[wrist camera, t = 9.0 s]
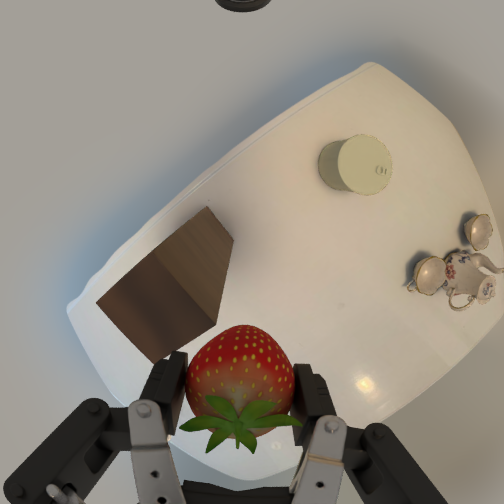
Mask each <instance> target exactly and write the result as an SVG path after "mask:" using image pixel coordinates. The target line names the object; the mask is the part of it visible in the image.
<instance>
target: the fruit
mask: <svg viewBox="0 0 504 504" xmlns="http://www.w3.org/2000/svg"><path fill="white" fill-rule="evenodd" d="M184 384H185V393H186V398H187V401H188V403H189V405H190V408H191V410H192V412H193V413H194V415H195V416H196V417H194V418H192V419H190V420H189V421H187V422H186V423H184V424H183V425H181V426H180V427H179V429H181V430H184V431H188V432H193V431H200V430H204V429H208V430H209V431H211V432H212V433H213V434H212V435H211V437H210V439H209V442H208V445H207V448H206V452H205V453H208V452H210V451H211V450H213V449H214V448H215V447H216V446H218V445H219V444H220V443H221V442H223V441H224V440H225V439H227V438H232V439H236V448H237V449H239V444H240V442H241V443H242V444H243V445H244V446H246V447H247V448H248V449H249V450H250V451H251V452H252V454H254V452H255V450H256V446H257V440H256V437H259V436H262V435H264V434H266V433H268V432H270V431H271V430H273V429H274V428H276V427H278V426H290V425H295V426H301V427H302V426H303V425H302V424H301V423H300V422H299V421H298V420H297V419H295V418H294V417H292V416H289V415H287V414H288V412H289V411H290V409H291V406H292V404H293V401H294V394H295V377H294V372H293V368H292V366H291V364H290V362H289V360H288V358H287V356H286V354H285V353H284V351H283V350H282V349H281V347H280V346H279V345H278V343H277V342H276V341H275V340H274V339H273V338H272V337H271V336H270V335H269V334H267V333H266V332H264V331H263V330H261V329H259V328H257V327H255V326H250V325H238V326H234V327H232V328H229V329H227V330H225V331H223V332H222V333H220V334H219V335H217V336H216V337H214V338H213V339H212V340H210V341H209V342H208V343H207V344H206V345H204V346H203V347H202V348H201V349H200V350H199V351H198V353H197V354H196V355H195V356H194V357H193V359H192V361H191V363H190V364H189V366H188V368H187V371H186V376H185V383H184Z"/></svg>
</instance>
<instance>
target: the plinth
mask: <svg viewBox="0 0 504 504" xmlns="http://www.w3.org/2000/svg"><path fill="white" fill-rule="evenodd" d="M233 242H234V240H233V238H232V237H231V236H230V235H229V233H228V232H227V231H226V229H225V228H224V227H223V226H222V224H221V223H220V222H219V221H218V219H217V218H216V217H215V216H214V214H213V213H212V212H211V211H210V209H209V208H208V207H207V206H206V207H205V208H204V209H203V210H201V211H200V212H199V213H198V214H196V215H195V216H194V217H192V218H191V219H190V220H189V221H187V222H186V223H185V224H184V225H183V226H181V227H180V228H179V229H178V230H176V231H175V232H174V233H173V234H172V235H170V236H169V237H168V238H167V239H166V240H164V241H163V242H162V243H161V244H160V245H158V246H157V247H156V248H155V249H154V250H153V251H151V252H150V253H149V254H148V255H147V256H146V257H145V258H143V259H142V260H141V261H140V262H139V263H138V264H137V265H136V266H134V267H133V268H132V269H131V270H130V271H129V272H128V273H127V274H126V275H124V276H123V277H122V278H121V279H120V280H119V281H118V282H117V283H116V284H115V285H114V286H113V287H112V288H110V289H109V290H108V291H107V292H106V293H105V294H104V295H103V296H102V297H101V298H100V299H99V300H98V301H97V302H96V304H97V305H98V306H99V307H100V308H101V310H102V311H103V312H104V313H105V314H106V315H107V316H108V318H109V319H110V320H111V321H112V322H113V323H114V324H115V325H116V326H117V328H118V329H119V330H120V331H121V332H122V333H123V334H124V335H125V336H126V337H127V338H128V339H129V340H130V341H131V342H132V343H133V344H134V345H135V346H136V347H137V348H138V349H139V350H140V351H141V352H142V353H143V354H144V355H145V356H146V357H147V358H148V359H149V360H150V361H151V362H152V363H153V364H155V363H156V362H157V361H159V360H160V359H163V358H165V357H167V356H168V355H170V354H171V353H172V351H176V350H178V349H179V348H181V347H183V346H184V345H186V344H187V343H189V342H190V341H192V340H194V339H195V338H197V337H198V336H200V335H201V334H203V333H204V332H206V331H208V330H209V329H211V328H212V327H214V326H215V325H216V323H217V318H218V313H219V308H220V303H221V299H222V294H223V289H224V284H225V280H226V275H227V270H228V265H229V261H230V256H231V252H232V247H233Z"/></svg>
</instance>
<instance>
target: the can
mask: <svg viewBox="0 0 504 504" xmlns="http://www.w3.org/2000/svg"><path fill="white" fill-rule="evenodd" d="M318 168H319V172H320V175H321V177H322V179H323V180H324V181H325V183H326V184H327V185H329V186H330V187H332V188H334V189H336V190H346V191H351V192H355V193H357V194H361V195H373V194H376V193H378V192H380V191H381V190H383V189H384V188H385V187H386V185H387V184H388V182H389V180H390V178H391V175H392V159H391V156H390V153H389V151H388V149H387V148H386V147H385V145H384V144H383V143H382V142H381V141H380V140H378V139H377V138H375V137H373V136H370V135H364V134H361V135H356V136H353V137H351V138H349V139H346V140H343V141H338V142H333V143H331V144H329V145H327V146H326V147H325V148H324V149H323V151H322V152H321V154H320V157H319V161H318Z"/></svg>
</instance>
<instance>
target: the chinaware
mask: <svg viewBox="0 0 504 504" xmlns="http://www.w3.org/2000/svg"><path fill="white" fill-rule="evenodd" d="M492 231H493V229H492V225H491V223H490V218H489V216H488V215H487V214H481V215H478V216H475V217H473V218H471V219H470V220H468V221H467V222H466V223H465V224H464V233H465V234H466V237H467V239H468V241H469V242H470V243H471V244H472V246H473V248H474V250H475V251H478V250H480V249H485V248H486V247H487V246H488V243H489V239H488V238H490V236H491V235H492ZM479 267H485V268H487V269H488V270H489V271H491V272H493V273H495V274H501V273H503V272H504V268H497V267H496V266H495V265H494V264H493V263H492V262H491V261H490V260H489V258H488V257H486V256H485V255H483V254H480V253H474V254H470V255H469V254H468V253H467V252H466V251H465V250H462V251H460V252H458V253H457V252H454V253H451V254H449V255H448V256H447V257H446V258H445V260H443V259H441V258H438V257H436V256H431V257H430V258H425V259H423V260H421V261H419V262H416V265H415V267H414V270H413V271H414V276H413V277H412V278H413V281H411V282H410V283H409V284H408V286H407V289H408V291H409V292H415V291H416V290H417V291H418V292H420V293H424V294H426V295H433V294H434V293H435V292H436V291H437V289H438V288H439V287H440V286H442V285H443V288H444V289H445V290H447V292H446V294H447V296H448V297H449V306H450V307H451V309H453V310H454V311H463V310H465V309H467V308H469V307H470V306H471V305H472V304H473V302H474V300H475V298H476V299H477V300H478V302H479V304H481V305H483V304H486V303H487V302H488V301H489V300H490V298H491V297H494V296H495V286H496V280H495V277H494V276H492V275H490V276H489V275H486V274H484V273H482V272H481V271H479V270H478V268H479ZM414 281H415V282H416V286H417V287H415V290H409V286H410V284H411V283H413V282H414ZM459 294H469V295H472V296H469V297H468V301H469V303H468V304H467V305H465V306H464V307H460V308H457V307H454V306H452V304H451V299H452V297H453V296H455V295H459ZM472 297H473V300H472Z"/></svg>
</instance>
